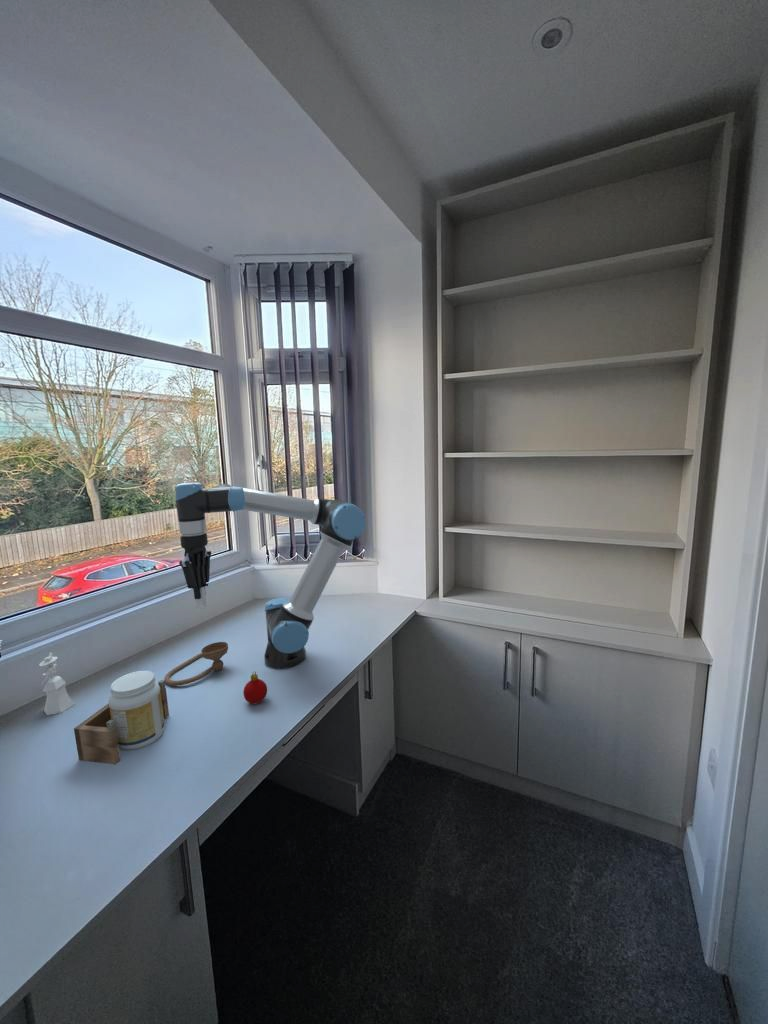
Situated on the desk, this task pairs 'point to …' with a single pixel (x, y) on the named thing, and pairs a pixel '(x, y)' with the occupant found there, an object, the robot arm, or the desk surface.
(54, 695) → the figurine
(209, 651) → the brown curved horn
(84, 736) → the walnut holder
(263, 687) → the christmas ornament
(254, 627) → the desk surface
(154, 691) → the supplement tub
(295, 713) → the desk surface
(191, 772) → the desk surface
